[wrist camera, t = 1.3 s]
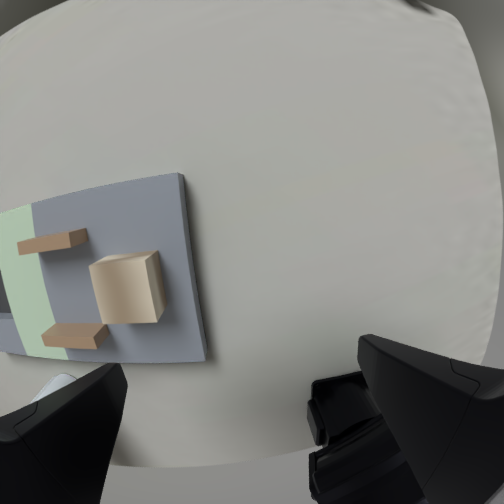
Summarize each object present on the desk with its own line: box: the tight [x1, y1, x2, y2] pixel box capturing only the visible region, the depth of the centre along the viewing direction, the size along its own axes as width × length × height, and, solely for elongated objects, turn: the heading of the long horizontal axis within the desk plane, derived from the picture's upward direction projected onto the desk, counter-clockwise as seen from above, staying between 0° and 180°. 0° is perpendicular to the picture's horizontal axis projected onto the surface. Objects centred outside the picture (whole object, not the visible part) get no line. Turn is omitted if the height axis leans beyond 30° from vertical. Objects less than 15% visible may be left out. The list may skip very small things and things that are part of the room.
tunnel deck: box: [0, 173, 207, 363], centre depth 18 cm, size 26×14×4 cm, turn 95°
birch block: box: [89, 250, 167, 324], centre depth 18 cm, size 4×4×3 cm
